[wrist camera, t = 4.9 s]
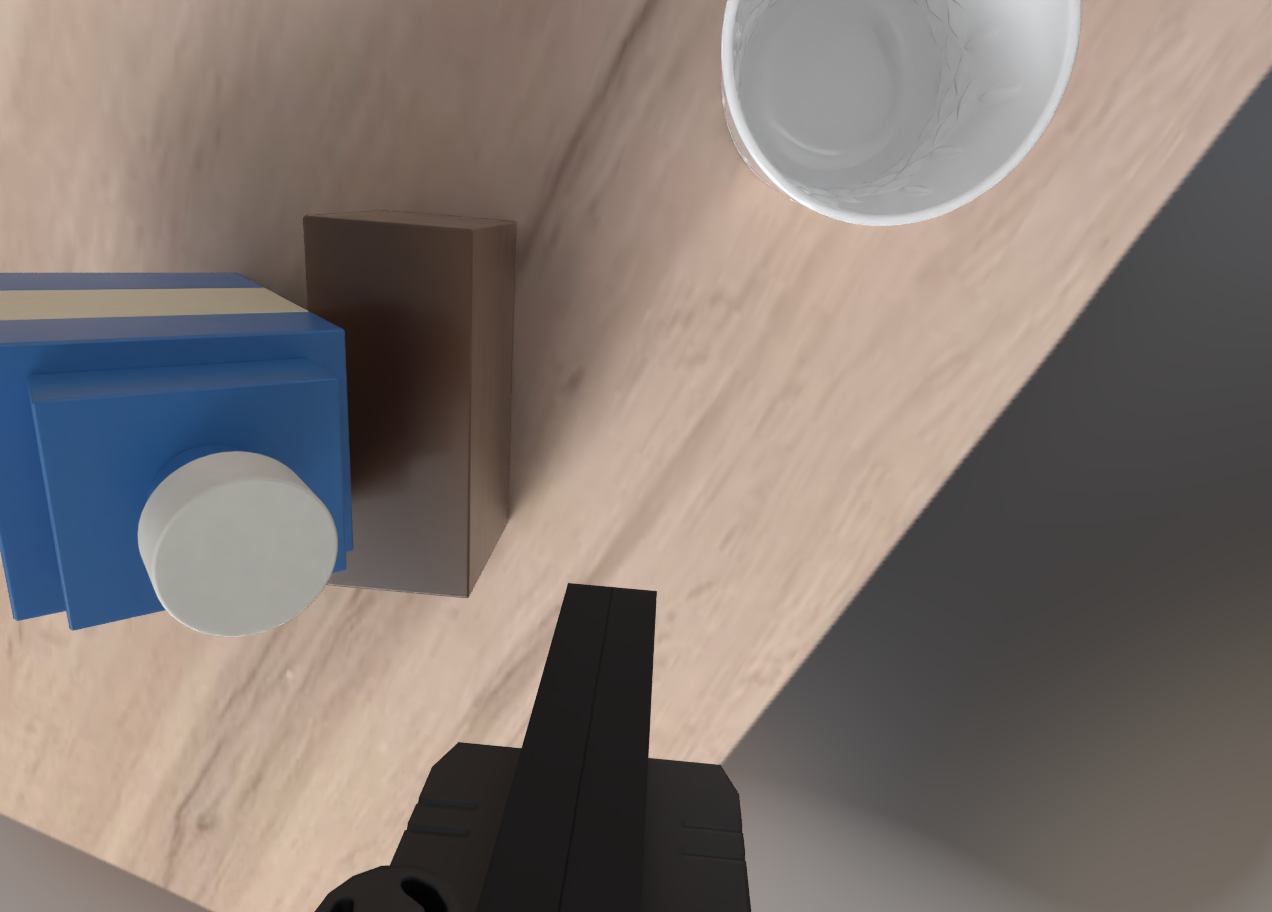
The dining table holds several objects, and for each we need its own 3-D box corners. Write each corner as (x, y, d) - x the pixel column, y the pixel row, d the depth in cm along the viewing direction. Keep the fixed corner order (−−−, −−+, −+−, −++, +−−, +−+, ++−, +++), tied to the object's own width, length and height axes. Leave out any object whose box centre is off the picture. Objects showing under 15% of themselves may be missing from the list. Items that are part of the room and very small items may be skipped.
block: (516, 221, 29) (472, 229, 23) (508, 523, 33) (468, 599, 27) (381, 210, 29) (301, 215, 23) (388, 512, 33) (322, 585, 27)
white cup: (761, 252, 29) (800, 282, 20) (669, 36, 27) (663, -49, 18) (972, 150, 28) (1126, 130, 18) (892, -86, 26) (1018, -250, 16)
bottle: (493, 293, 30) (279, 418, 14) (490, 458, 32) (301, 739, 16) (78, 259, 30) (-624, 341, 14) (102, 425, 32) (-485, 668, 16)
